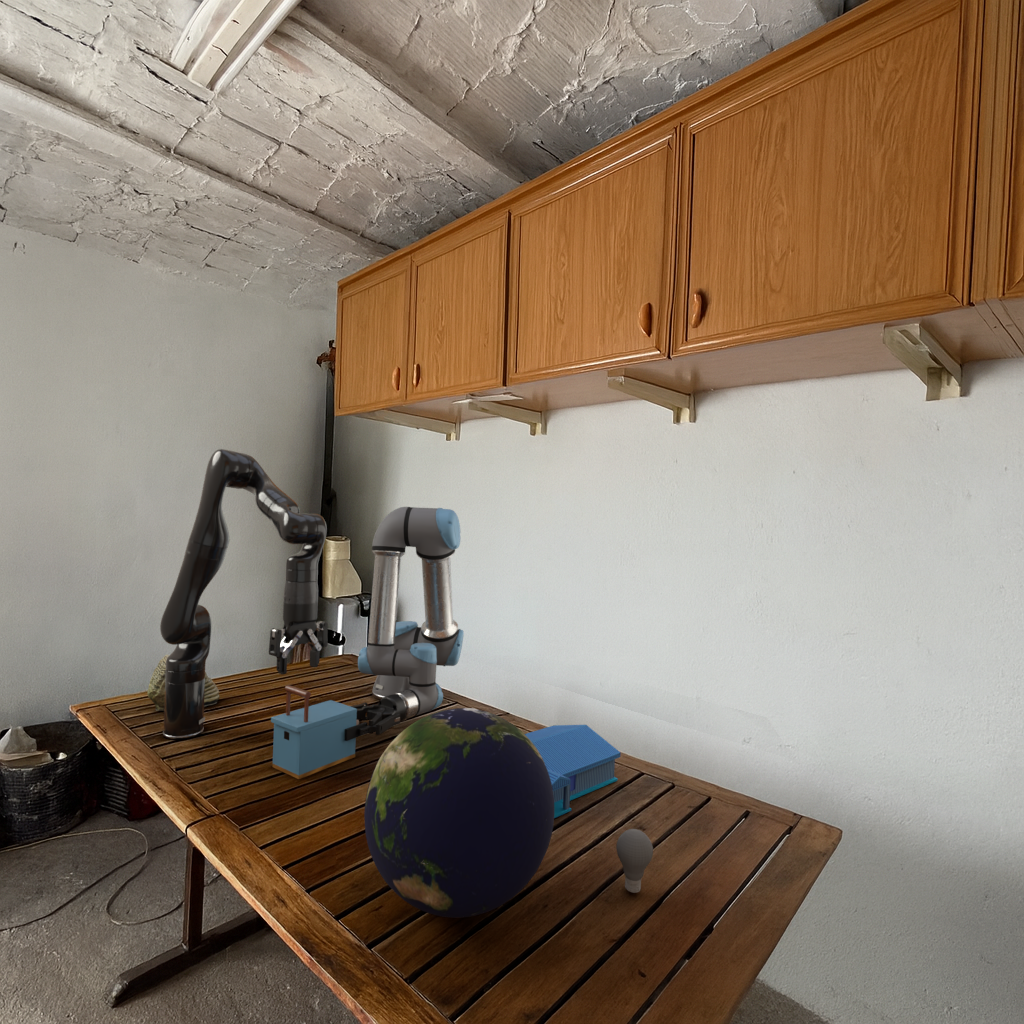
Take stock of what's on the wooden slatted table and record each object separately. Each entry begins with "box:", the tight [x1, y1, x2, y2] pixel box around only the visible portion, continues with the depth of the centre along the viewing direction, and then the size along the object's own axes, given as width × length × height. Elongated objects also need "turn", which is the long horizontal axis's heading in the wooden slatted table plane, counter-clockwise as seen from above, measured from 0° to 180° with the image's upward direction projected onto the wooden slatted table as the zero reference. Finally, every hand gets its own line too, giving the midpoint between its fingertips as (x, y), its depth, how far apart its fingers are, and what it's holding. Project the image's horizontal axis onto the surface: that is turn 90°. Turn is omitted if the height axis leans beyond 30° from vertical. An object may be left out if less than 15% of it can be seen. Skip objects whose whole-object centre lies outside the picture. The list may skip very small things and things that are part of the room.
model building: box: [524, 724, 622, 819], centre depth 141 cm, size 39×24×10 cm, turn 132°
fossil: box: [147, 654, 221, 712], centre depth 185 cm, size 9×18×15 cm, turn 132°
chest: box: [271, 714, 357, 780], centre depth 151 cm, size 16×10×11 cm, turn 145°
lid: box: [270, 684, 357, 732], centre depth 150 cm, size 17×10×8 cm, turn 145°
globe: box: [363, 707, 555, 919], centre depth 101 cm, size 30×30×30 cm
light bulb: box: [615, 828, 654, 894], centre depth 106 cm, size 6×6×10 cm
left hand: (298, 669), depth 146 cm, fingers open, 8 cm apart
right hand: (331, 729), depth 155 cm, fingers closed on chest, 10 cm apart
